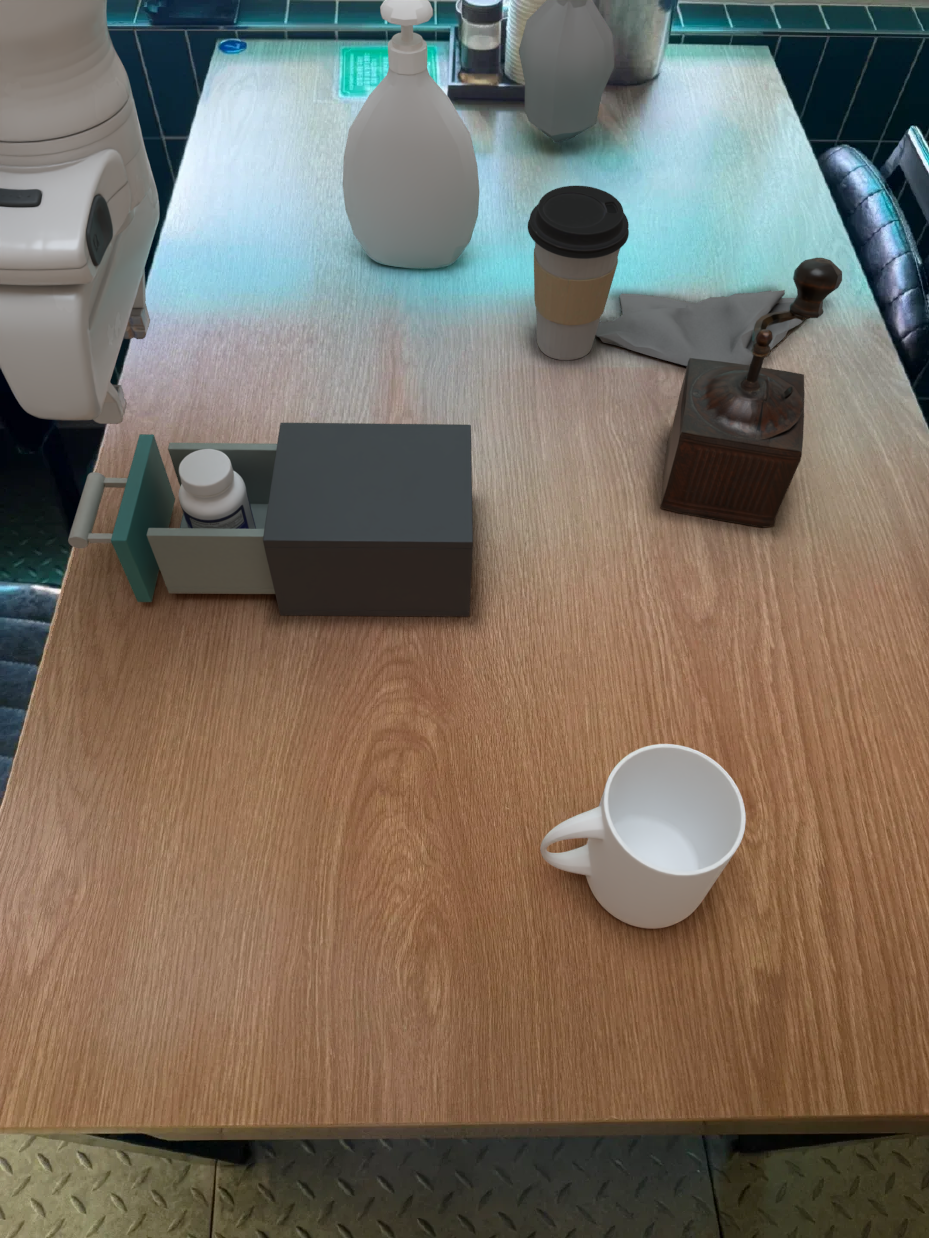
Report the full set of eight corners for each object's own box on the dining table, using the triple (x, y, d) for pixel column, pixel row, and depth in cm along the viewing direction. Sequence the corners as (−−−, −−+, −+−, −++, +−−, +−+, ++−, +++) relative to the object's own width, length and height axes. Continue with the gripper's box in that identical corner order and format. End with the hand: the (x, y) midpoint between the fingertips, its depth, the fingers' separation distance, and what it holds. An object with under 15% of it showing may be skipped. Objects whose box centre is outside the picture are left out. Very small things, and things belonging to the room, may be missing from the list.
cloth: (599, 377, 96) (602, 359, 94) (582, 293, 104) (585, 275, 102) (850, 373, 97) (858, 355, 95) (815, 291, 105) (822, 273, 103)
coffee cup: (627, 351, 98) (653, 218, 86) (555, 384, 95) (571, 251, 83) (571, 303, 103) (588, 170, 90) (500, 333, 99) (508, 199, 87)
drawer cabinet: (280, 615, 78) (262, 540, 70) (294, 501, 85) (280, 422, 77) (469, 616, 78) (472, 542, 70) (468, 503, 85) (470, 424, 78)
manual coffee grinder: (781, 532, 84) (853, 372, 70) (657, 510, 85) (702, 348, 71) (784, 415, 93) (848, 251, 78) (671, 397, 94) (715, 232, 80)
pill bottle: (201, 516, 81) (178, 440, 74) (262, 518, 81) (245, 443, 74) (188, 564, 78) (163, 490, 71) (251, 567, 78) (232, 493, 71)
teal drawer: (81, 602, 77) (48, 540, 71) (110, 498, 84) (83, 433, 77) (315, 603, 78) (304, 542, 71) (326, 500, 84) (316, 435, 78)
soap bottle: (479, 238, 109) (490, -27, 87) (474, 280, 105) (484, 12, 83) (354, 230, 110) (333, -36, 88) (344, 272, 105) (319, 2, 83)
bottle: (497, 147, 121) (511, -143, 97) (543, 111, 127) (568, -171, 102) (572, 175, 118) (607, -117, 93) (617, 138, 123) (661, -148, 98)
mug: (528, 816, 68) (541, 747, 59) (692, 810, 69) (729, 740, 60) (539, 937, 63) (555, 880, 54) (716, 929, 64) (760, 872, 55)
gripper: (41, 55, 53) (106, 270, 65) (-72, 273, 42) (32, 490, 53) (154, 59, 54) (199, 273, 65) (73, 277, 42) (146, 492, 53)
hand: (124, 372), depth 59 cm, fingers open, 6 cm apart
